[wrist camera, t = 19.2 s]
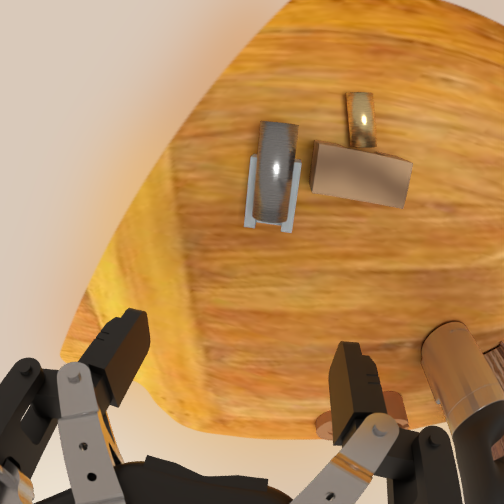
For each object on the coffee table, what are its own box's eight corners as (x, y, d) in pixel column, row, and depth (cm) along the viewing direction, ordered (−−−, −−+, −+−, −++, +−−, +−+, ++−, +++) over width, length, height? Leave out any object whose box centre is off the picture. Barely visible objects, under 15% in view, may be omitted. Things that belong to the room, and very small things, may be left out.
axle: (283, 213, 34) (291, 223, 31) (249, 211, 34) (254, 222, 30) (293, 125, 30) (303, 125, 27) (258, 121, 30) (264, 121, 26)
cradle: (291, 224, 37) (291, 233, 34) (247, 218, 37) (244, 226, 35) (300, 159, 33) (301, 163, 31) (253, 153, 34) (250, 156, 31)
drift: (351, 144, 32) (376, 145, 31) (349, 147, 30) (376, 147, 29) (347, 94, 30) (372, 94, 29) (344, 92, 28) (372, 92, 26)
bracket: (396, 384, 47) (404, 413, 41) (405, 405, 50) (412, 431, 44) (309, 416, 53) (309, 444, 47) (325, 433, 55) (326, 459, 49)
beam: (388, 196, 34) (403, 208, 29) (308, 182, 34) (312, 192, 30) (396, 156, 32) (413, 163, 27) (314, 140, 32) (319, 143, 28)
